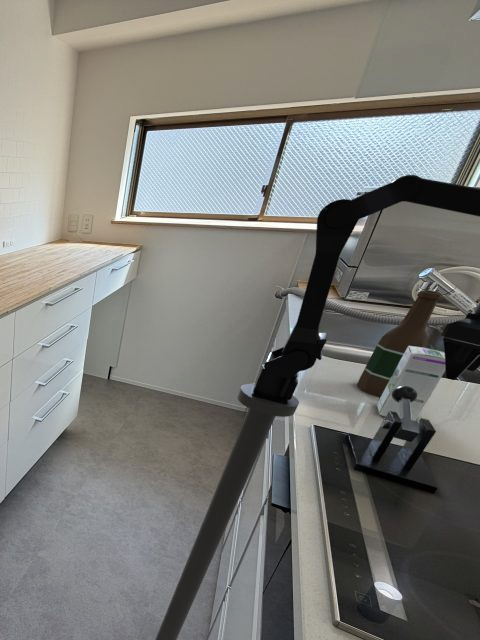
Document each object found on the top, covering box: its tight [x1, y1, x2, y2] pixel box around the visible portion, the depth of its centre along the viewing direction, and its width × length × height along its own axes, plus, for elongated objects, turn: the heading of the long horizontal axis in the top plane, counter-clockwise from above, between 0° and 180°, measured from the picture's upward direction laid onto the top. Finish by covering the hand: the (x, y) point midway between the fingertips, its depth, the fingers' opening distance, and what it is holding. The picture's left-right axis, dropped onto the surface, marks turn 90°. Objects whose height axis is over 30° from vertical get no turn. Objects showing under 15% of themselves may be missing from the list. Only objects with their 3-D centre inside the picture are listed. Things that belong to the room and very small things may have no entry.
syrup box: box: [376, 346, 446, 421], centre depth 85 cm, size 6×6×14 cm
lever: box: [392, 386, 420, 442], centre depth 72 cm, size 12×3×3 cm, turn 145°
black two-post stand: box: [344, 411, 439, 494], centre depth 70 cm, size 12×10×9 cm
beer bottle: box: [356, 289, 443, 398], centre depth 93 cm, size 8×8×24 cm
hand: (460, 374), depth 71 cm, fingers open, 9 cm apart
